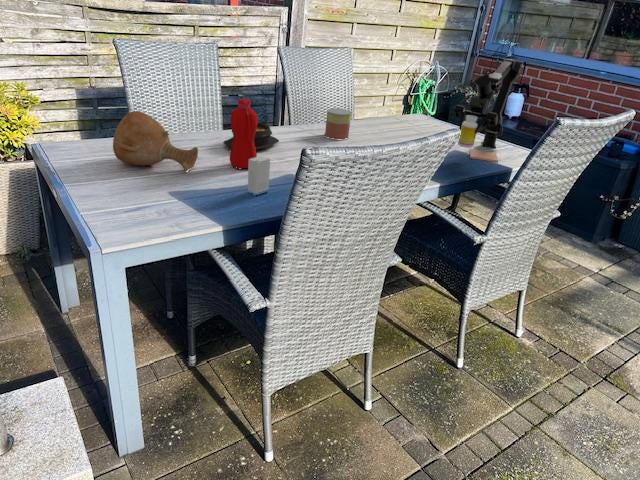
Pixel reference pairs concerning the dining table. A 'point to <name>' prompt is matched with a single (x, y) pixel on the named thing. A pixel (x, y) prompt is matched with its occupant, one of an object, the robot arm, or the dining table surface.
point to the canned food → (337, 123)
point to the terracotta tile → (483, 155)
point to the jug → (148, 143)
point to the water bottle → (243, 134)
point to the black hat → (259, 137)
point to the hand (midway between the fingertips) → (467, 131)
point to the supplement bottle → (468, 132)
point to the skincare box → (258, 174)
